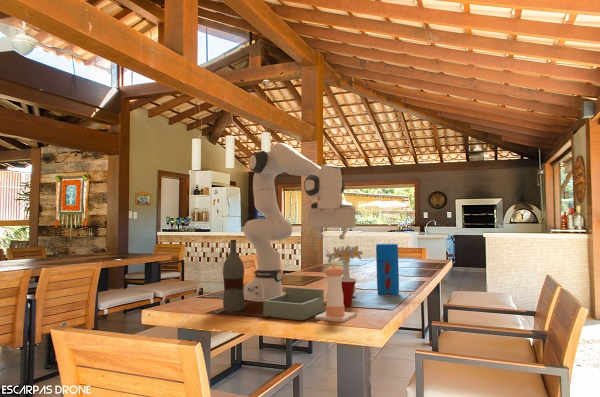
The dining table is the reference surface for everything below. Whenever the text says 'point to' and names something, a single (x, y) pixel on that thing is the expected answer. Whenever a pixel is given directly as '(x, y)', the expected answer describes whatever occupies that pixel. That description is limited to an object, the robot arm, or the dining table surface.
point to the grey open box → (295, 304)
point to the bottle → (233, 281)
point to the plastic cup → (347, 290)
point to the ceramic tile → (338, 318)
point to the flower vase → (345, 258)
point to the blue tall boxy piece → (387, 269)
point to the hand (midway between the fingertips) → (331, 239)
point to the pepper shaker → (334, 292)
